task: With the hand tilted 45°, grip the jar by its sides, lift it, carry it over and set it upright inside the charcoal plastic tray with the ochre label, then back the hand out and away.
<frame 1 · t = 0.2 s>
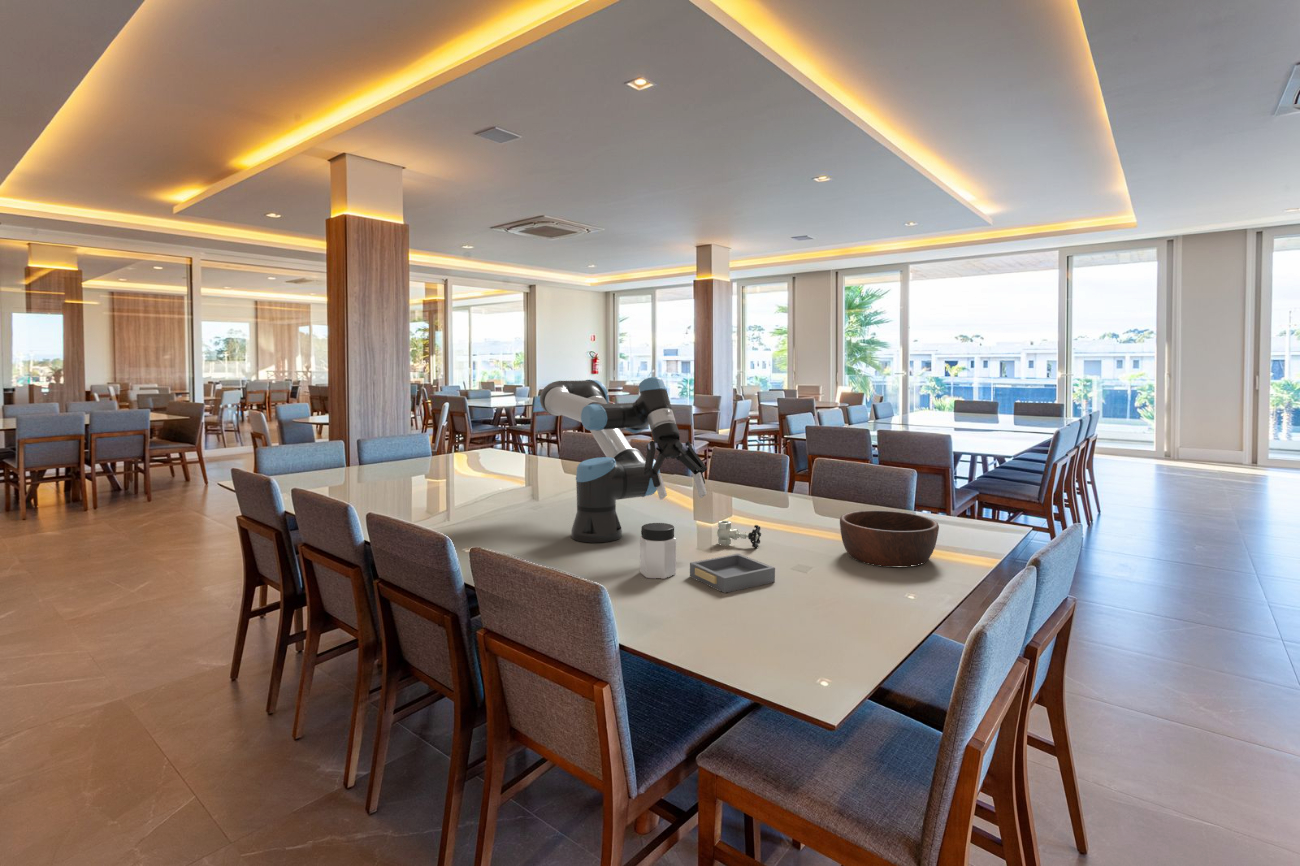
hand: (683, 496, 185), 16 cm above the table, tool tilted 35°, fingers open, 13 cm apart
tray: (731, 579, 165), on the table
jar: (657, 574, 169), on the table
wooden bowl: (886, 558, 183), on the table
valve: (737, 546, 195), on the table
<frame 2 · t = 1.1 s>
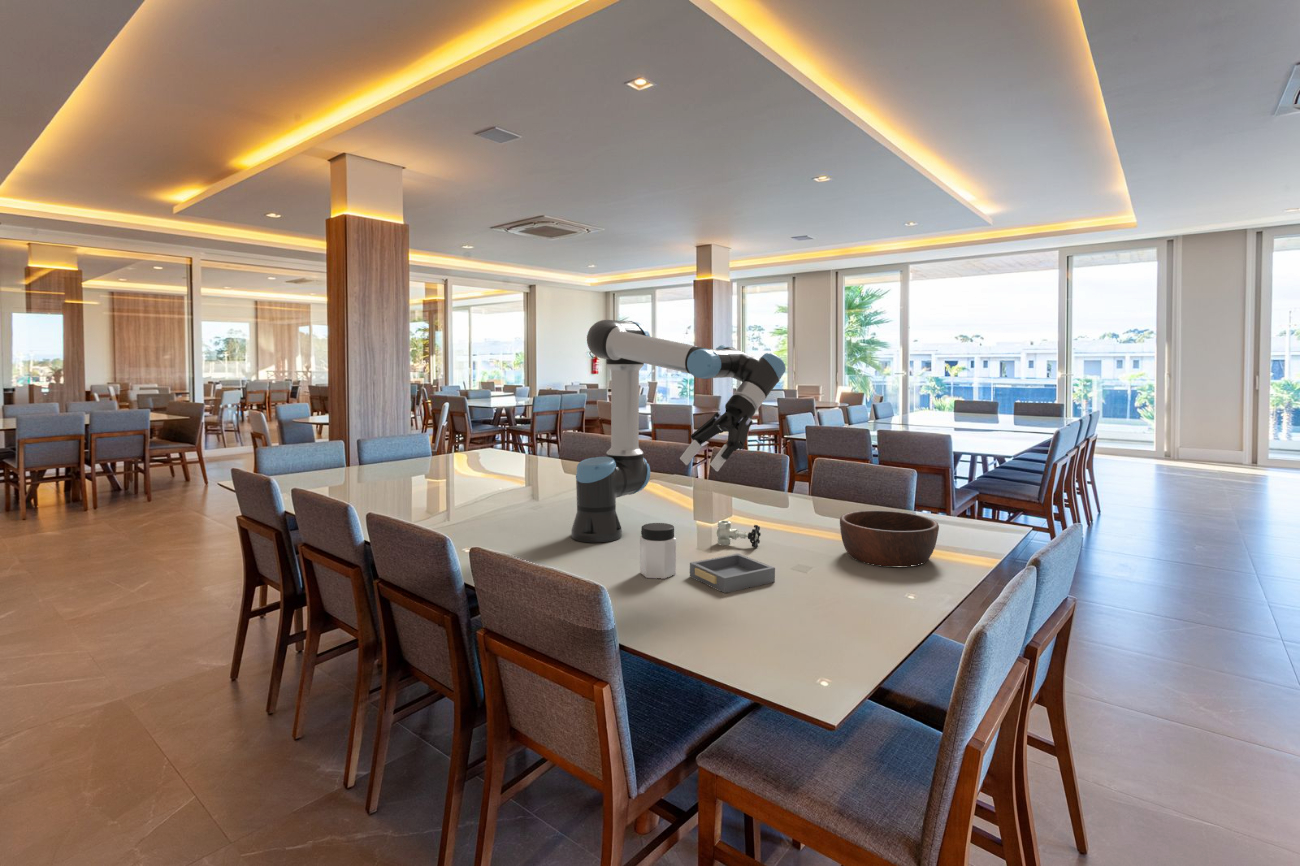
hand: (697, 464, 173), 26 cm above the table, tool tilted 45°, fingers open, 13 cm apart
nothing on the table moved.
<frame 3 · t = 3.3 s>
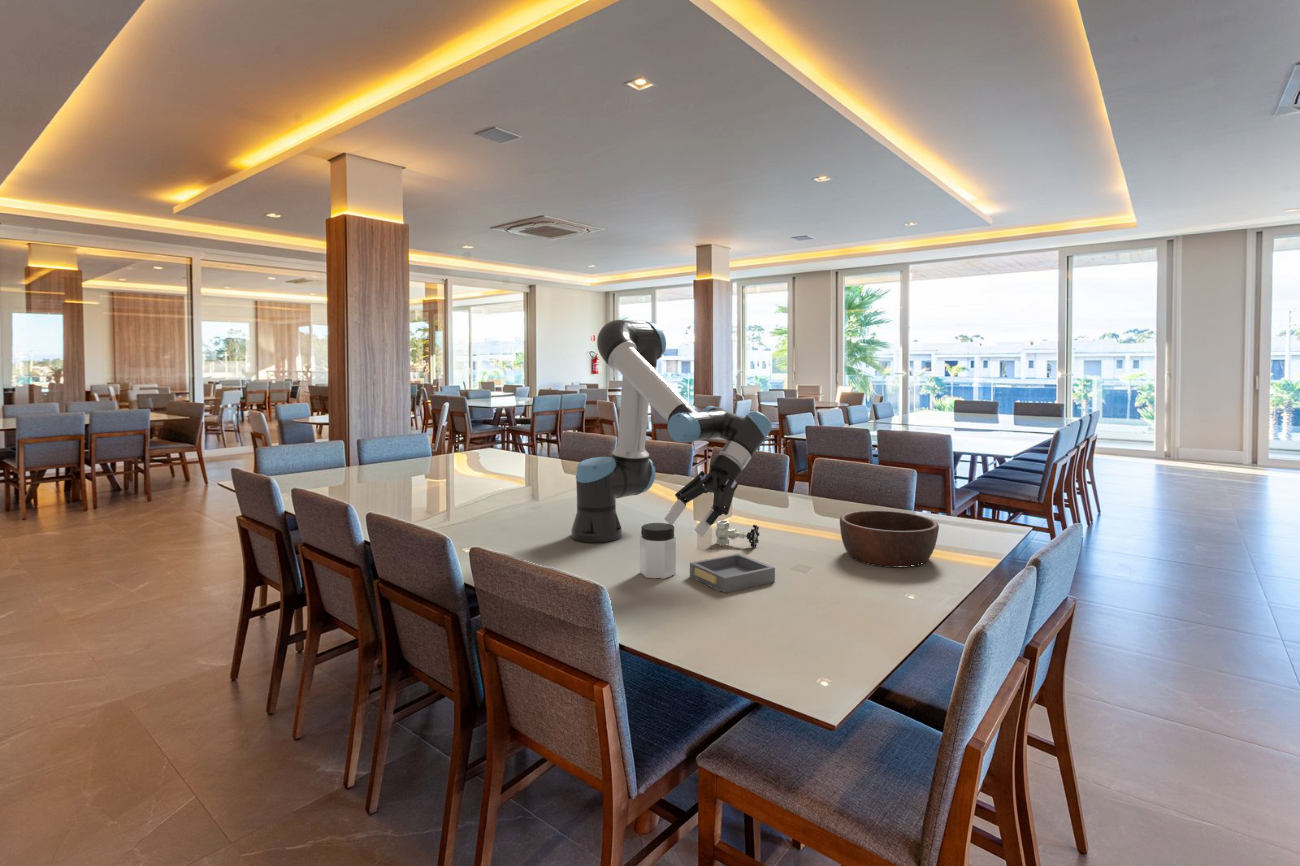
hand: (682, 527, 170), 11 cm above the table, tool tilted 45°, fingers open, 13 cm apart
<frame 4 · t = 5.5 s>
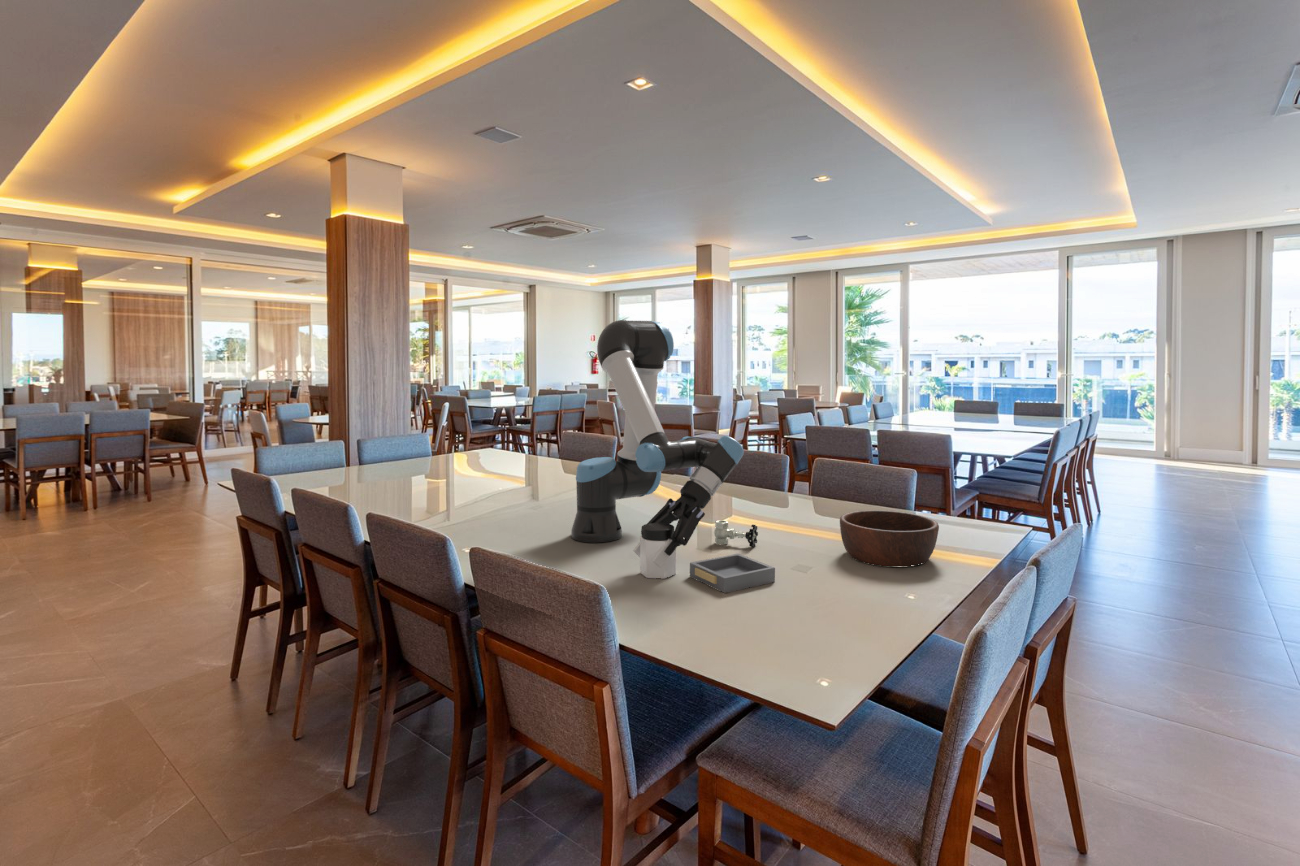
hand: (646, 559, 167), 4 cm above the table, tool tilted 45°, fingers open, 9 cm apart
jar: (657, 574, 169), on the table, touching gripper
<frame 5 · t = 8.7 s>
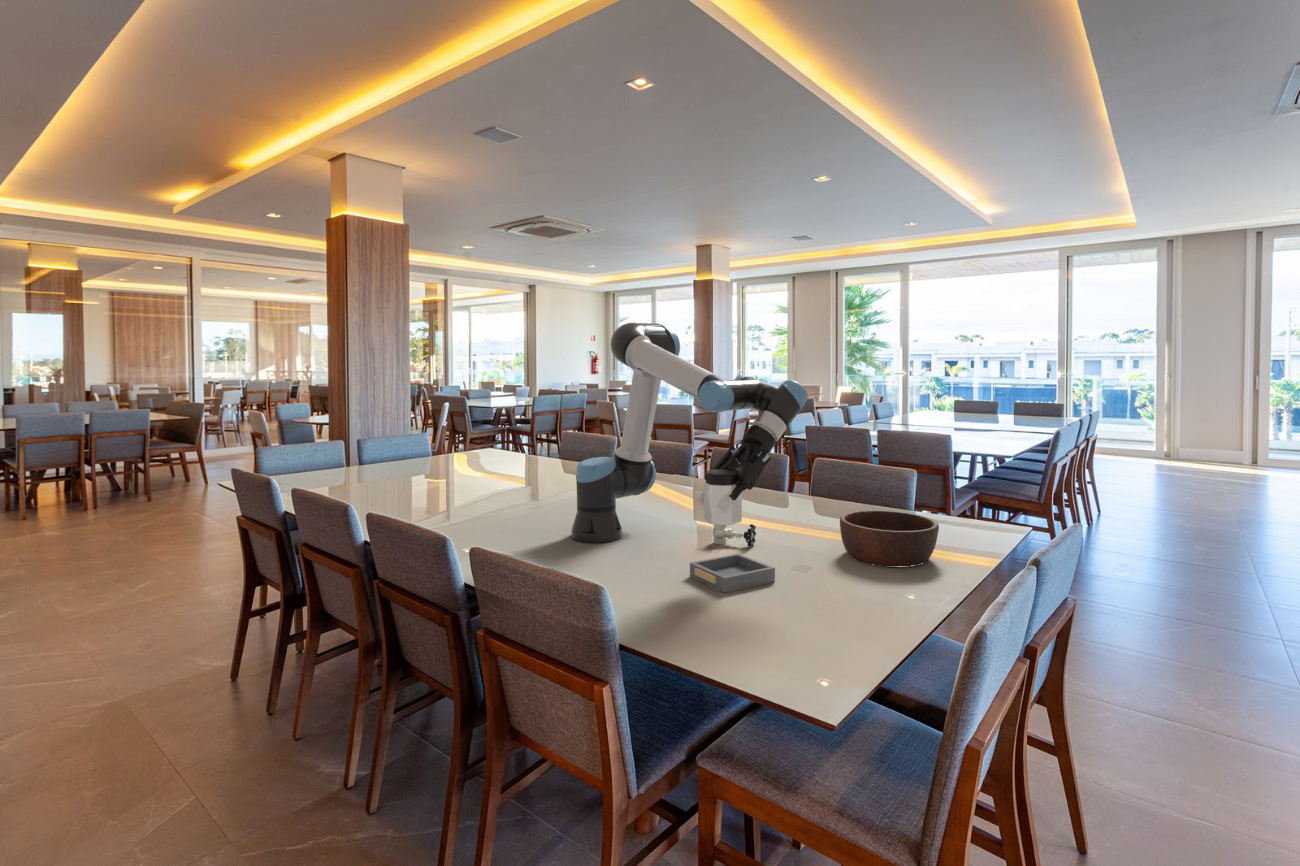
hand: (710, 505, 161), 19 cm above the table, tool tilted 45°, fingers closed on jar, 8 cm apart
jar: (722, 522, 163), point 14 cm above the table, touching gripper
when the fingers open (6 cm above the table, at t = 11.5 s): jar stays where it is, resting on tray.
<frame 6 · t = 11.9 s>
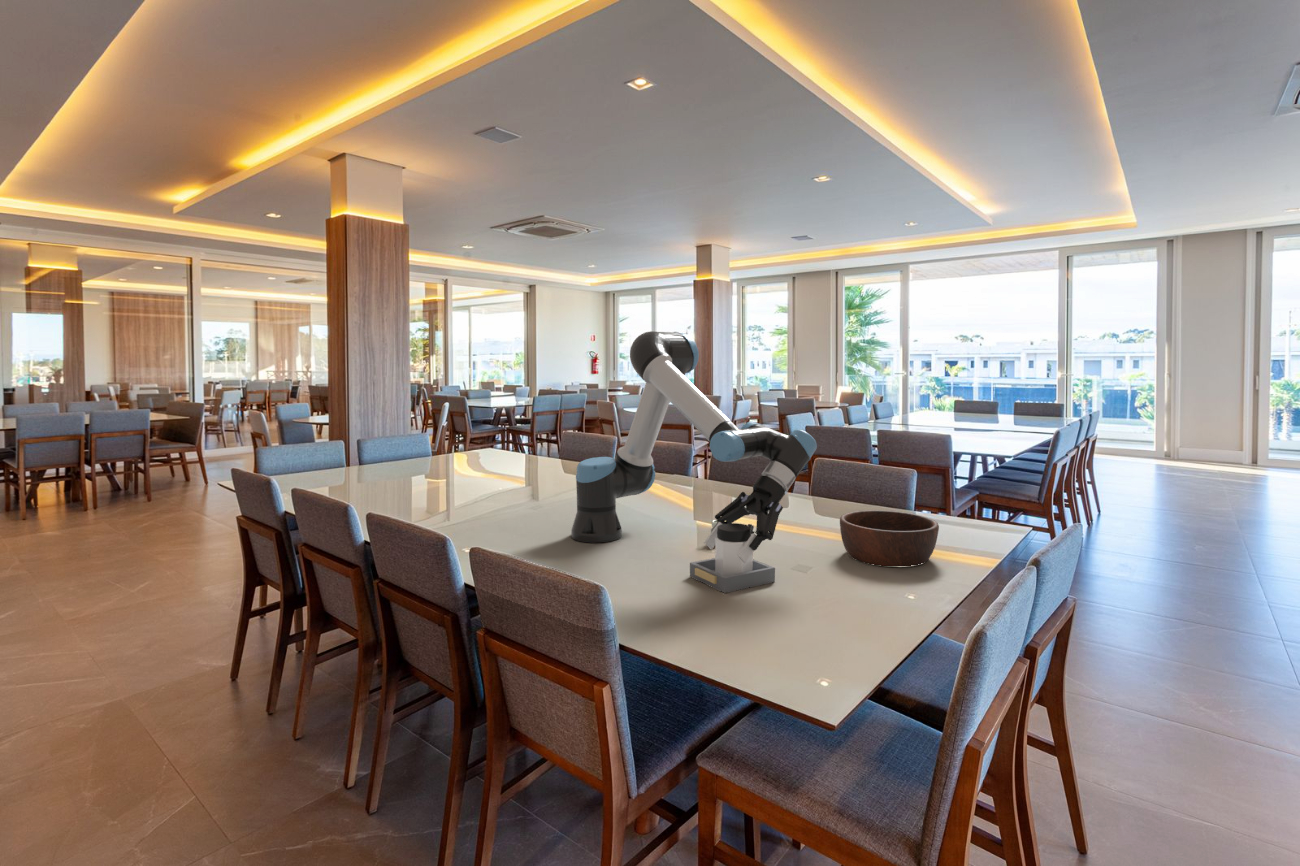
hand: (723, 552, 163), 7 cm above the table, tool tilted 45°, fingers open, 12 cm apart
jar: (733, 576, 164), point 1 cm above the table, touching tray
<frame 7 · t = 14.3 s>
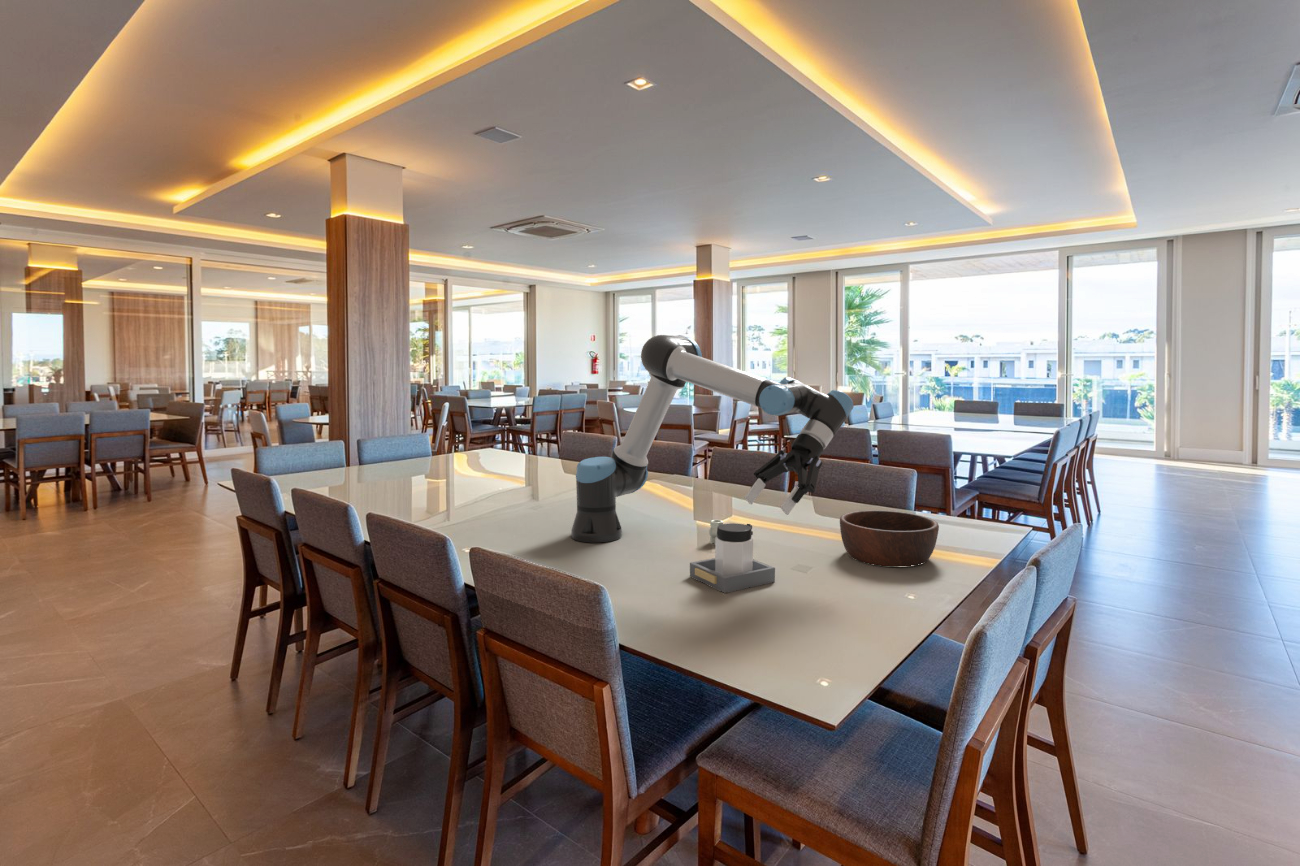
hand: (765, 506, 168), 17 cm above the table, tool tilted 45°, fingers open, 13 cm apart
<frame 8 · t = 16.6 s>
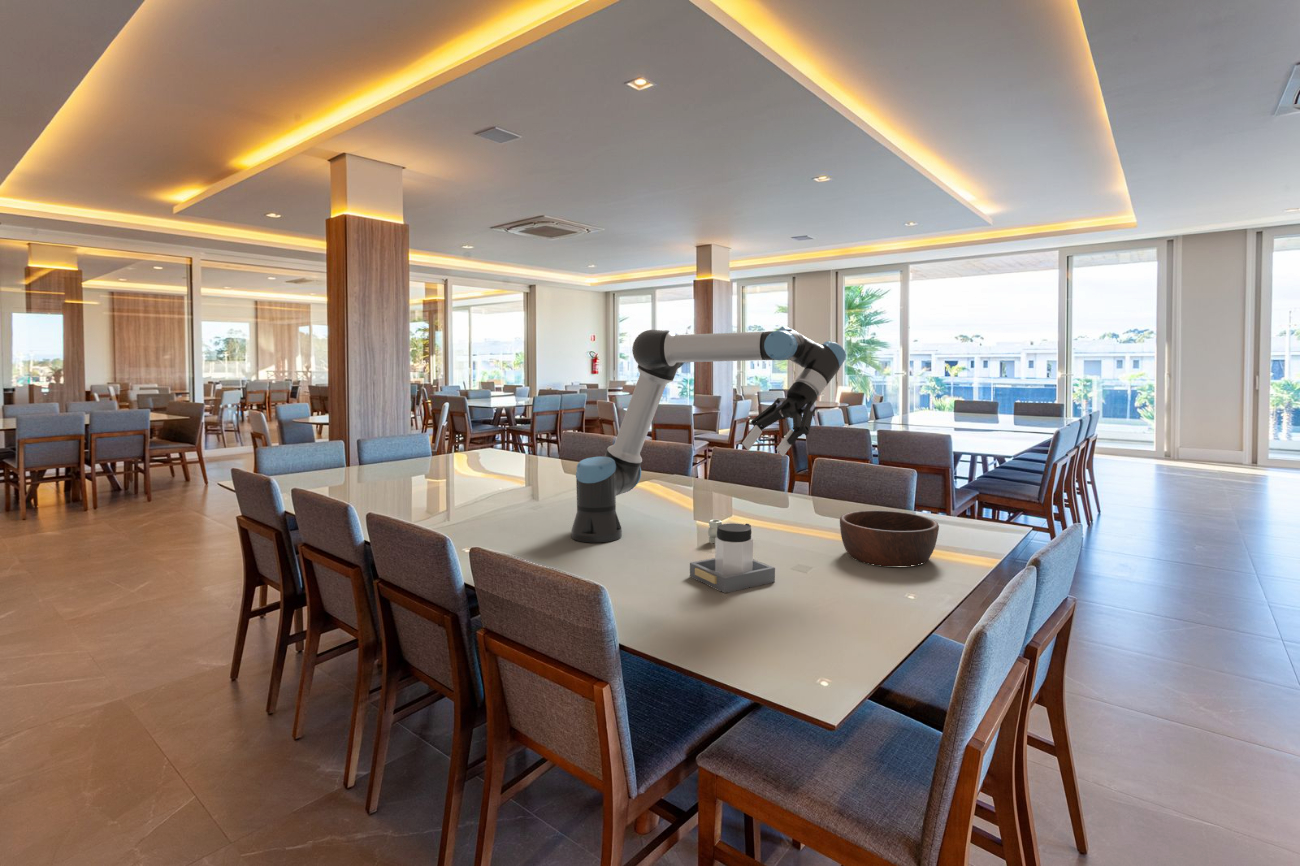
hand: (761, 449, 176), 30 cm above the table, tool tilted 45°, fingers open, 13 cm apart
at the end: jar 0.7 cm off-centre on the tray, point 0.8 cm above the tray's base; jar tilted 0°; the gripper is holding nothing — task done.
